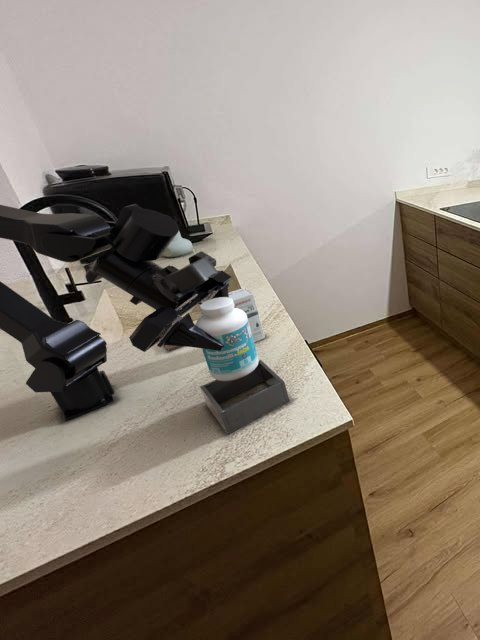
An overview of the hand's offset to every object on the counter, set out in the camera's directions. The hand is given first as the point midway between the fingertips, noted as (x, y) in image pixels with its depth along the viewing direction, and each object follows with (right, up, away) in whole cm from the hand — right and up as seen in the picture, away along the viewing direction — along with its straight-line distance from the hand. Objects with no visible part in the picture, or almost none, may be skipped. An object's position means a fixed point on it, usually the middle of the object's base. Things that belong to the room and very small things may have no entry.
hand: (234, 335), depth 65 cm
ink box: (-13, -5, +22) cm, 26 cm away
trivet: (-28, -4, +24) cm, 37 cm away
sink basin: (0, -13, +4) cm, 13 cm away
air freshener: (-74, +19, +79) cm, 109 cm away
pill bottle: (-1, -7, +3) cm, 7 cm away
